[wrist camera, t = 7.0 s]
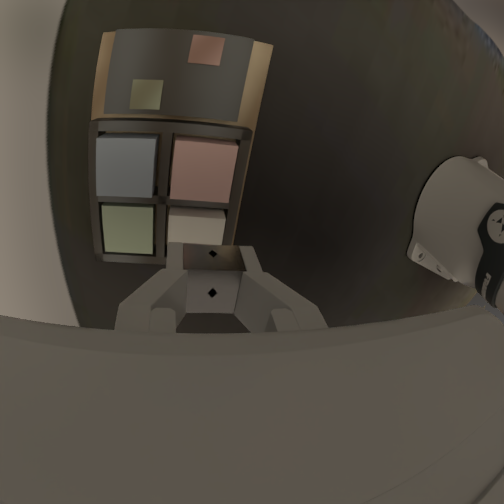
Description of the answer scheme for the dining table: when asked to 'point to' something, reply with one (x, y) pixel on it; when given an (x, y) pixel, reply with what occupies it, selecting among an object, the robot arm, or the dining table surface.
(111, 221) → the sage key
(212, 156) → the rose key
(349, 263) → the dining table surface
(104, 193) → the slate key
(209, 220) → the offwhite key
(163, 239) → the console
